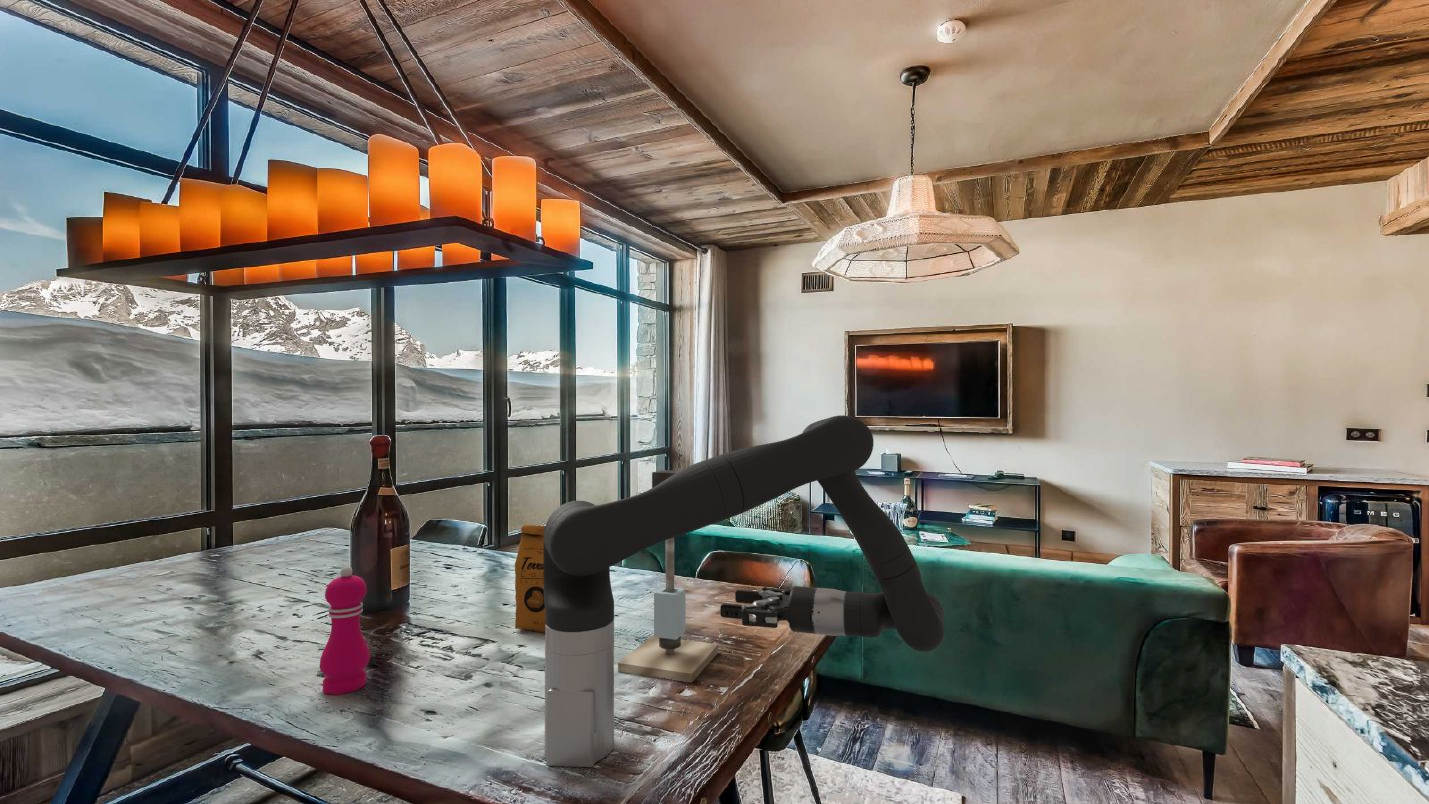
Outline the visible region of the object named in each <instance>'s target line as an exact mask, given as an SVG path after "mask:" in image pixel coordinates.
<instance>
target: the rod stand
mask: <svg viewBox="0 0 1429 804" xmlns="http://www.w3.org/2000/svg"><path fill="white" fill-rule="evenodd" d="M679 471H680V470H675V469H674V470H671V469H670V470H669V469H663V470H662V469H661V470H658V471H656V470H655V471H652V472H651V488H653V487H655V486H657V485H658V484H660V483H661V482H663V481H664V480H666V479H668V478H669V477H671V476H672V475H674V474H676V473H677V472H679ZM665 587H666V592H668V593H674V587H675V537H674V538H671V539H668V540H665ZM681 638H682V635H681V636H680V637H679V638H678V639H677V640H674V639H666V638H659V637H654V635H651V636H650V637H649V638H648V639H646V640H645V641H643V643H641V644H640V645H638V646H637V647H636V648H635V649H634V650H632V651H631V652H630V653H628V654H627V655H626V656H625V657H623V659H621V660H620V661H618V662H617V672H620V673H624V674H625V673H626V674H633V675H639V676H646V677H653V678H660V679H664V678H665V679H666V680H671V679H672V681H678V682H679V681H680V682H685V683H693V682H694V681H695V680H696V679H697V677H698V676H699V675H700V673H702V672H703V670H704V669H705V668H706V667H707V666H708V665H709V664H710V663H711V661H712V660H713V659H714V658H715V656H717V654H719V644H715V643H709V642H702V641H700V642H699V641H693V640H687V639H686V640H683V639H681Z"/></svg>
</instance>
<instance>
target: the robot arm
mask: <svg viewBox="0 0 1429 804" xmlns="http://www.w3.org/2000/svg"><path fill="white" fill-rule="evenodd" d="M873 450H874V435H873V433H872V431H871V429H870V428H869V426H868V425H867V424H866V423H864V422H863V421H862V420H861V419H859V418H857V417H853V416H850V415H846V414H845V415H840V414H839V415H835V416H831V417H828V418H827V417H826V418H824V419H823V418H822V419H820V420H818V421H815V422H812V423H810V424H809V425H808V426H806V427H805V428H804V429H803V431H802V433H800V434H797V435H795V436H792V437H790V438H785V439H783V440H780V441H779V440H778V441H774V442H770V443H764V444H759V445H755V446H749V447H745V448H741V449H736V450H733V451H730V452H729V451H728V452H725V453H722V454H719V455H716V456H713V457H710V458H708V459H704V460H701V461H699V462H696V463H693V464H691V465H689V466H687V467H685V468H683V469H680V470H678V471H679V472H677V473H676V474H674V475H672V476H671V477H669V478H668V479H666V480H664V481H663V482H661V483H660V484H658V485H657V486H655V487H653V488H652V487H651V488H650V489H648V490H646V491H643V492H641V493H639V494H635V495H632V496H629V497H625V498H623V499H618V500H615V501H610V502H606V503H602V504H597V505H596V504H594V503H592V502H589V501H585V500H571V501H568V502H565V503H563V504H561V505H560V506H558V507H557V508H556V509H555V510H554V511H552V512H551V514H550V515H549V517H548V518H547V520H546V524H545V525H544V526H545V530H544V541H543V568H544V603H545V623H546V624H545V633H544V634H545V635H544V637H545V638H544V639H545V640H544V642H545V644H544V645H545V646H544V657H545V658H544V755H545V757H546V759H545V761H546V763H545V765H546V766H548V767H549V766H554V767H573V768H574V767H575V768H576V767H578V768H579V767H580V768H585V767H586V768H593V767H594V766H595V764H596V763H597V762H598V761H600V760H602V759H604V758H605V757H607V756H608V755H609V754H610V753H611V752H612V751H613V748H614V747H615V745H614V744H615V736H614V735H615V728H614V727H615V714H614V713H615V670H614V669H615V599H614V595H613V591H612V583H611V573H610V572H611V569H610V568H611V567H613V566H615V565H616V564H619V563H620V562H622V561H624V560H626V559H628V558H630V557H632V556H634V555H636V554H639V553H640V552H642V551H644V550H645V549H648V548H649V547H652V546H655V545H657V544H660V543H661V542H664V541H665V542H666V540H668V539H671V538H674V539H675V538H677V537H680V536H683V535H687V534H689V533H692V532H694V531H697V530H699V529H700V530H701V529H704V528H705V527H709V526H712V525H714V524H718V523H721V522H723V521H725V520H728V519H730V518H734V517H737V516H738V515H739V516H740V515H741V514H743V513H746V512H748V511H750V510H753V509H755V508H757V507H760V506H762V505H764V504H766V503H768V502H771V501H773V500H775V499H777V498H779V497H781V496H783V495H785V494H787V493H788V492H791V491H793V490H795V489H797V488H799V487H802V486H805V485H807V484H810V483H813V482H818V484H819V485H820V487H821V488H822V489H823V491H824V492H825V494H826V495H827V497H828V498H829V499H830V501H831V503H832V505H834V507H835V508H836V510H837V512H838V513H839V514H840V516H841V518H842V519H843V521H844V523H845V524H846V526H847V527H848V529H849V531H850V533H851V534H852V535H853V538H854V539H855V541H856V543H857V545H858V547H859V548H860V551H861V553H862V555H863V556H864V558H865V560H866V562H867V565H868V566H869V568H870V570H871V572H872V574H873V576H874V579H875V580H876V582H877V583H878V585H879V587H880V589H881V592H875V593H868V592H856V591H846V590H838V589H836V588H828V587H827V588H826V587H814V586H813V587H812V586H811V587H810V586H799V585H795V586H793V587H792V588H790V589H788V588H786V589H785V588H779V587H767V586H763V587H761V589H760V588H758V589H756V590H747V589H746V590H745V589H737V590H736V591H735V592H734V596H735V599H734V600H735V602H736V603H739V604H734V603H725V602H724V603H722V604H721V605H720V606H719V607H720V608H719V611H720V616H721V618H725V619H726V618H727V619H734V620H735V619H736V620H741V625H742V626H745V627H746V626H747V627H758V628H759V627H760V628H770V629H776V628H778V622H780V621H782V622H783V621H787V623H788V627H789V629H790V630H791V631H792V632H794V633H800V634H801V633H803V634H812V635H822V636H823V635H824V636H834V637H835V636H836V637H837V636H847V637H857V638H869V639H870V638H873V639H874V638H877V637H879V636H880V635H881V634H882V632H884V631H886V630H893V629H894V630H895V629H896V632H897V634H898V635H899V637H900V638H901V639H902V641H903V642H904V643H905V644H906V645H907V646H908V647H910V648H912V649H913V650H915V651H917V652H922V653H929V652H931V651H934V650H936V649H938V648H939V646H940V645H941V644H942V643H943V641H944V636H945V633H946V632H945V619H944V618H945V617H944V616H945V615H944V608H943V606H942V603H941V601H940V600H939V599H938V598H937V597H936V596H935V595H933V594H931V593H929V592H928V591H926V588H925V586H924V583H923V581H922V574H921V571H920V568H919V565H918V563H917V561H916V559H915V557H914V555H913V552H912V550H911V549H910V547H909V545H908V543H907V541H906V539H905V537H904V536H903V533H902V532H901V531H900V529H899V528H898V527H897V525H896V524H895V523H894V521H892V519H891V518H890V517H889V516H888V514H886V512H885V511H883V509H882V508H881V507H880V506H879V505H878V504H877V503H876V502H875V500H874V499H873V498H872V497H871V496H870V494H869V493H868V491H867V490H866V489H865V487H864V486H863V485H862V483H861V481H860V479H859V477H858V475H857V473H856V471H857V470H858V471H859V469H861V468H862V467H863V466H864V465H865V464H867V462H868V460H869V459H870V457H871V456H872V454H873Z"/></svg>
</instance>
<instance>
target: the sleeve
mask: <svg viewBox="0 0 1429 804" xmlns="http://www.w3.org/2000/svg"><path fill="white" fill-rule="evenodd" d="M653 601H654V602H653V627H654V628H653V636H654V637H659V638H666V639H674V640H677V639H678V638H679V637H680V636H681V637H682V635H683V634H685V633H686V588H683V587H675V586H674V593H668V592H666V586H662V587H661V588H659V589H657V590H656V591H655V592H653Z"/></svg>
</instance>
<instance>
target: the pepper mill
mask: <svg viewBox="0 0 1429 804" xmlns="http://www.w3.org/2000/svg"><path fill="white" fill-rule="evenodd" d="M339 573H340V576H337V578H334V579H333V580H332V581H330V582H329V583H328V584H327V586H326V588H325V592H324V599H325V601H326V603H327V604H329V605H330V606H328V614H327V616H328V618H330V619H331V620H330V621H331V630H330V633H329V636H328V637H329V638H328V640H327V642H326V644H325V647H324V648H323V650H322V653H321V656H320V659H319V670H320V672H321V673H323V675H325V677H323V680H322V692H323V693H324V694H327V695H344V694H348V693H349V694H350V693H351V692H354V691H355V692H356V691H357V690H359V689H361V688H363V687H364V686H365V685H366V684H367V671H366V670H365V668H366V667H367V665H368V663H369V662H370V660H371V656H370V649H369V645H368V643H367V641H366V639H365V637H364V636H363V633H362V630H361V625H360V619H361V618H360V617H361V614H362V613H363V611H364V609H363V605H364V604H363V603H364V602H362V601H363V600H364V598H365V596H366V595H367V584H366V582H365V580H364V579H363V578H362V577H360V576H358V575H353V568H352V567H351V566H344V567H343V568H341V570H340V571H339Z"/></svg>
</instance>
